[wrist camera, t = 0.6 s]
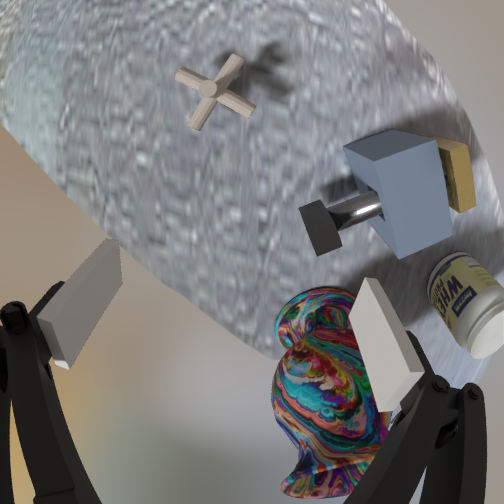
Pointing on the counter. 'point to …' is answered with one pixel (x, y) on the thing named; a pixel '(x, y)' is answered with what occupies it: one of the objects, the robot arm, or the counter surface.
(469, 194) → the block
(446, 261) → the supplement tub
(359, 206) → the shaft
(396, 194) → the pillow block
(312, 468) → the vase
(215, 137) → the counter surface
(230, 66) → the pipe connector
